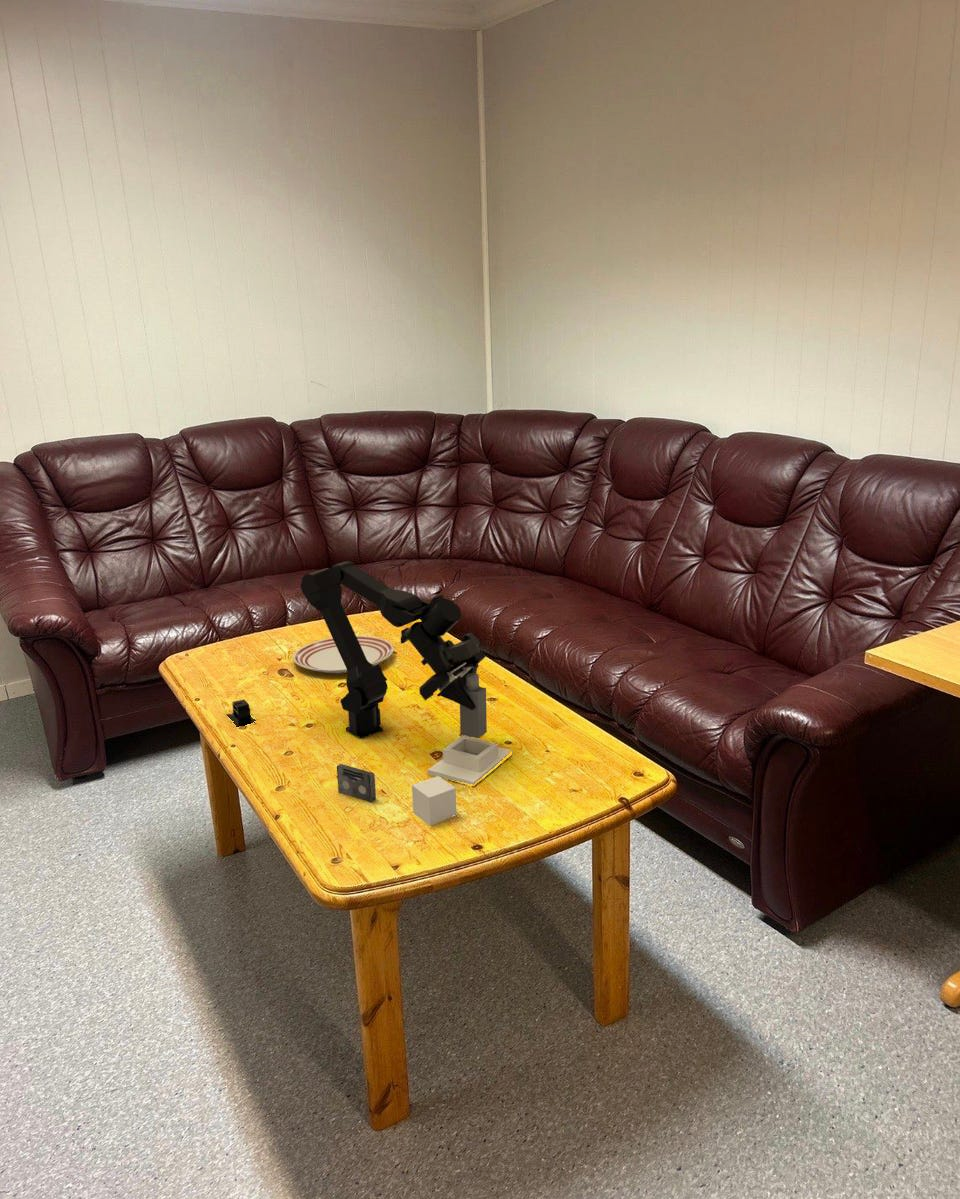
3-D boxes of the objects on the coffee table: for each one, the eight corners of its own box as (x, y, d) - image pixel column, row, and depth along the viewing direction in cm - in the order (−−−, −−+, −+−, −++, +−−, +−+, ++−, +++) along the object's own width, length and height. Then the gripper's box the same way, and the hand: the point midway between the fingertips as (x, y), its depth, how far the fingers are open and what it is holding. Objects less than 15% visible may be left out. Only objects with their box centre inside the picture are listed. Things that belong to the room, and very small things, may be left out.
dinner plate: (275, 675, 247) (274, 664, 246) (321, 641, 272) (320, 630, 271) (370, 685, 239) (370, 673, 238) (408, 649, 264) (408, 638, 263)
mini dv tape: (376, 799, 183) (374, 772, 181) (371, 802, 182) (369, 775, 180) (343, 789, 187) (341, 762, 185) (338, 792, 186) (336, 765, 184)
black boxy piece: (220, 715, 224) (218, 697, 223) (249, 708, 228) (247, 691, 226) (235, 733, 214) (234, 715, 213) (266, 726, 217) (264, 708, 216)
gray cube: (439, 803, 181) (438, 775, 179) (456, 816, 176) (455, 787, 175) (413, 813, 178) (411, 785, 176) (430, 826, 173) (429, 797, 171)
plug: (460, 734, 194) (459, 676, 190) (468, 728, 197) (467, 671, 193) (478, 738, 192) (477, 680, 188) (486, 732, 195) (485, 674, 191)
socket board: (428, 774, 192) (427, 756, 191) (468, 744, 205) (468, 727, 204) (473, 787, 186) (472, 768, 185) (512, 755, 200) (512, 737, 198)
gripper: (430, 639, 182) (480, 701, 180) (477, 612, 197) (523, 669, 195) (398, 669, 188) (446, 730, 186) (446, 641, 203) (491, 697, 201)
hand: (478, 705), depth 192 cm, fingers closed on plug, 3 cm apart
